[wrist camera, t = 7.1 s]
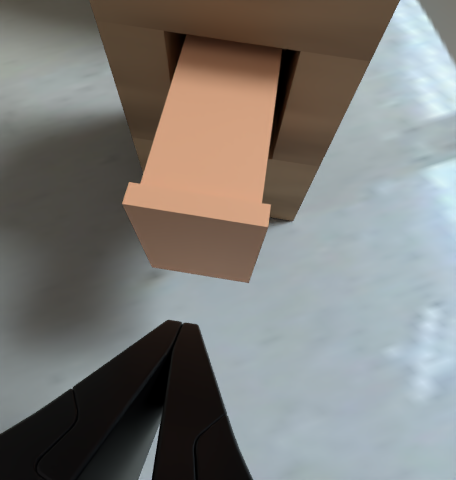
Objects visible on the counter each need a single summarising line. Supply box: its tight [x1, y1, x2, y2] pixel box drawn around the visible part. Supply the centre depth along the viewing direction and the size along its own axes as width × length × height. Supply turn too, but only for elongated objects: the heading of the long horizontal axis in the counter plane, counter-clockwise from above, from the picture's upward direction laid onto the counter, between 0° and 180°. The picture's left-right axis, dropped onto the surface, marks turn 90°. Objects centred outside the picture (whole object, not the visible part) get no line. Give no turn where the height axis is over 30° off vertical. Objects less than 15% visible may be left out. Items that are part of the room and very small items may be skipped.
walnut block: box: [90, 0, 400, 221], centre depth 15 cm, size 7×8×12 cm
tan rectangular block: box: [122, 34, 282, 283], centre depth 11 cm, size 8×3×4 cm, turn 171°
